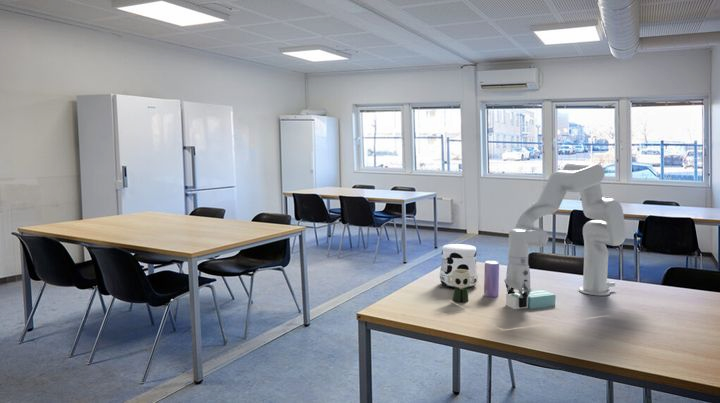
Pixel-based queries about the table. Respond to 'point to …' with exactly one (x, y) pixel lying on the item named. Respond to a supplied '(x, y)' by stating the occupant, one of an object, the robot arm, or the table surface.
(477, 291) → the table surface
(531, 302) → the striped teal box
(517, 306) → the white box
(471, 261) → the milk container
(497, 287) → the beverage can
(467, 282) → the character mug
